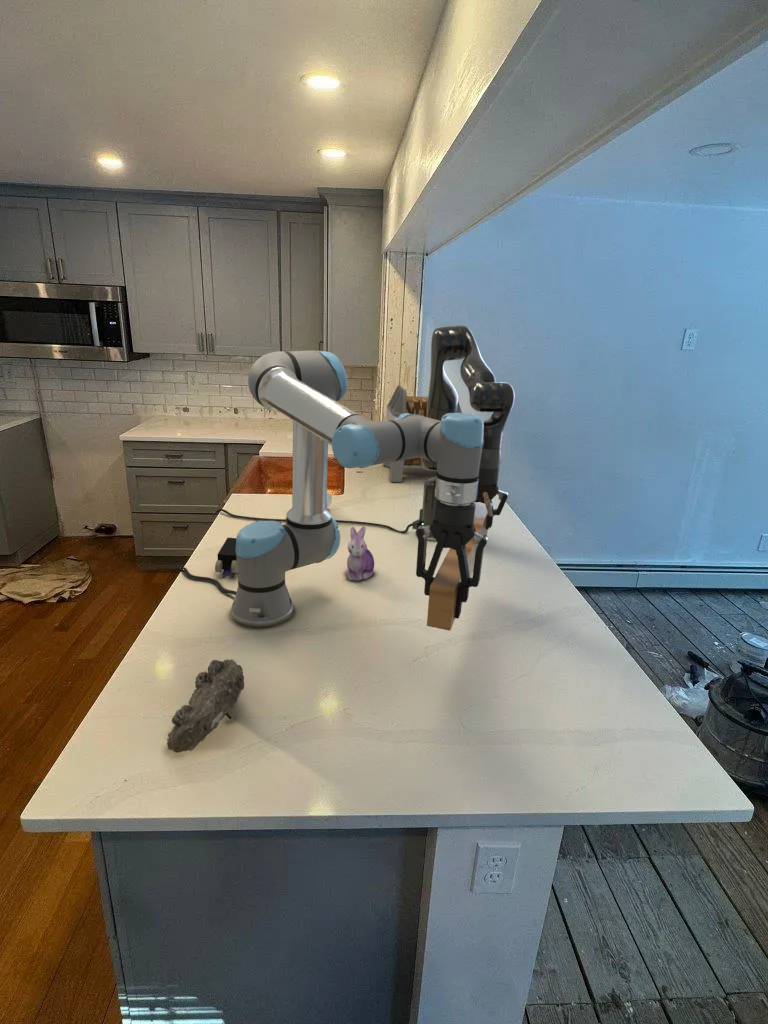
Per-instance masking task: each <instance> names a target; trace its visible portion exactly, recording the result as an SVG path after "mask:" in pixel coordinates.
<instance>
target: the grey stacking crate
mask: <svg viewBox="0 0 768 1024" xmlns="http://www.w3.org/2000/svg"><path fill="white" fill-rule="evenodd" d="M407 394H408V393H407V390H406V389H404V388H403V387H402V385H399V384H398V385H397V386H396V388H395V390H394V392H393V394H392V395H391V398H390V400H389V402H388V404H387V405H386V413H385V414H386V415H385V421H386V420H394V419H395V418H397V417H398V416H399V415H401V414H404V413H409V414H419V415H421V416H424V417H426V416H427V402H428V396H415V395H414V396H413V395H412V396H411V395H407ZM456 413H463V411H462V408H461V405H460V402H459V401H458V405H457V412H456ZM383 466H384V467H388V468H389V475H388V476H389V477H388V478H389V480H390V482H391V483H402V482H403V475H404V469H405V466H406V467H407V466H411V467H412V466H413V467H415V466H416V467H417V466H418V467H423V466H422V462H421V458H413V459H407V460H401V461H395V462H389V463H383Z"/></svg>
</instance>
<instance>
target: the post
mask: <svg viewBox="0 0 768 1024" xmlns="http://www.w3.org/2000/svg"><path fill="white" fill-rule="evenodd" d="M474 503H475V504H476V507H475V516H474V528H475V530H476V532H477V533H479V534H481V535H482V536H483V535H487V536H488V533H489V529H488V530H487V529H486V522H487V516H488V511H487V508H486V504H483V503H480V502H477V503H476V502H474ZM474 542H475V540H474V539H473V538H472V539H471V540H470V541H469V542H468V543H467V544H466V554H467V561H468V568H469V575H470V578H472V577H473V569H474V561H475V552H476V548H477V546H476V545H475V544H474ZM434 577H435V578H434V580H433V582H432V583H431V585H430V593H429V596H428V604H429V605H427V617H426V618H427V619H426V627H430V628H435V629H440V630H445V631H451V630H452V628H453V625H454V623H455V620H456V618H455V610H456V601H457V591H458V586H459V584H460V582H461V576H460V570H459V563H458V556H457V554H456V550H454V549H452V548H448V551H447V553H446V555H445V557H444V559H443V561H442V563H441V564H440V566H439V568H438V570H437V572H436V574H435V575H434Z"/></svg>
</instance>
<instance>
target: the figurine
mask: <svg viewBox="0 0 768 1024" xmlns="http://www.w3.org/2000/svg"><path fill="white" fill-rule="evenodd" d="M366 531H367V528H366V525H362V527H361V528H359V531H357V530H356V528H355V527H354V526H351V527H350V540H349V542H348V545H347V551H348V553H349V555H348V557H347V559H346V566H347V570H346V575H347V579H348V580H351V581H357V582H358V581H361V580H367V579H369V578H371V577H372V576H373V574H374V570H375V559H374V558H375V557H374V555H373V554H372V552H371V551H370V550H369V549H368V546H367V543H366V541H365V535H366Z"/></svg>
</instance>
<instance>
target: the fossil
mask: <svg viewBox="0 0 768 1024" xmlns="http://www.w3.org/2000/svg"><path fill="white" fill-rule="evenodd" d="M243 670H244V669H243V667H242V665H240V664H237V662H236V661H235V660H234V659H232V658H231V659H227V658H226V659H224V660H223V661H222V660H217V659H212V660H211V661H210V663H209V665H208V666H207V671H201V672H199V673H198V674H197V675H196V676H195V680H194V684H195V685H194V687H195V689H194V690H193V693H192V694H191V697H190V698H189V700H188V704H184V705H182V706H181V707H180V709H177V710H176V711H175V713H174V715H173V716H172V718H171V723H172V724H173V727H172V730H171V731H170V732H168V734H167V738H166V741H167V742H166V745H167V749H168V750H169V751H173V752H174V753H176V754H178V753H182V752H188V751H189V752H192V751H193V750H195V748H196V747H197V746H199V744H200V743H201V742H203V741H204V740H205V739H206V738H207V737H208V736H209V735H210V734H211V733H212V732H214V730H215V729H217V727H218V726H219V724H220V722H221V721H222V720H223V719H224V718H225V716H226V717H227V719H229V720H233V717H232V715H230V714H229V710H230V709H231V708H234V706H235V704H236V703H237V702H238V699H239V697H240V695H241V693H242V691H243V690H245V689H244V688H245V675H244V671H243Z"/></svg>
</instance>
